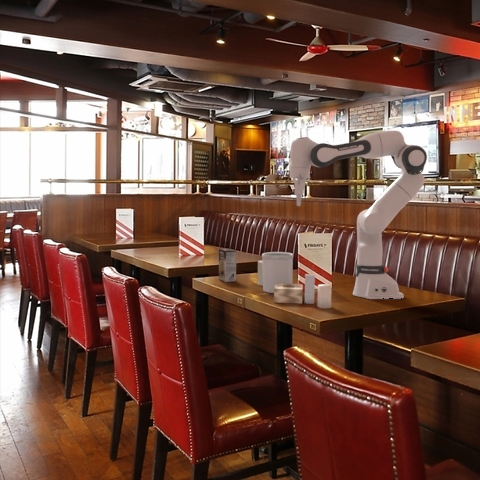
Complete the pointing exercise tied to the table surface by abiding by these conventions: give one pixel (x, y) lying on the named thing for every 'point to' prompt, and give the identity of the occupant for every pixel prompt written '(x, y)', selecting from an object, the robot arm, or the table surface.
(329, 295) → the white rounded block
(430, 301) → the table surface
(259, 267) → the can
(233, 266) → the coffee box
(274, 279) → the utensil holder
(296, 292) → the socket block
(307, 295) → the square bar
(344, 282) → the table surface
